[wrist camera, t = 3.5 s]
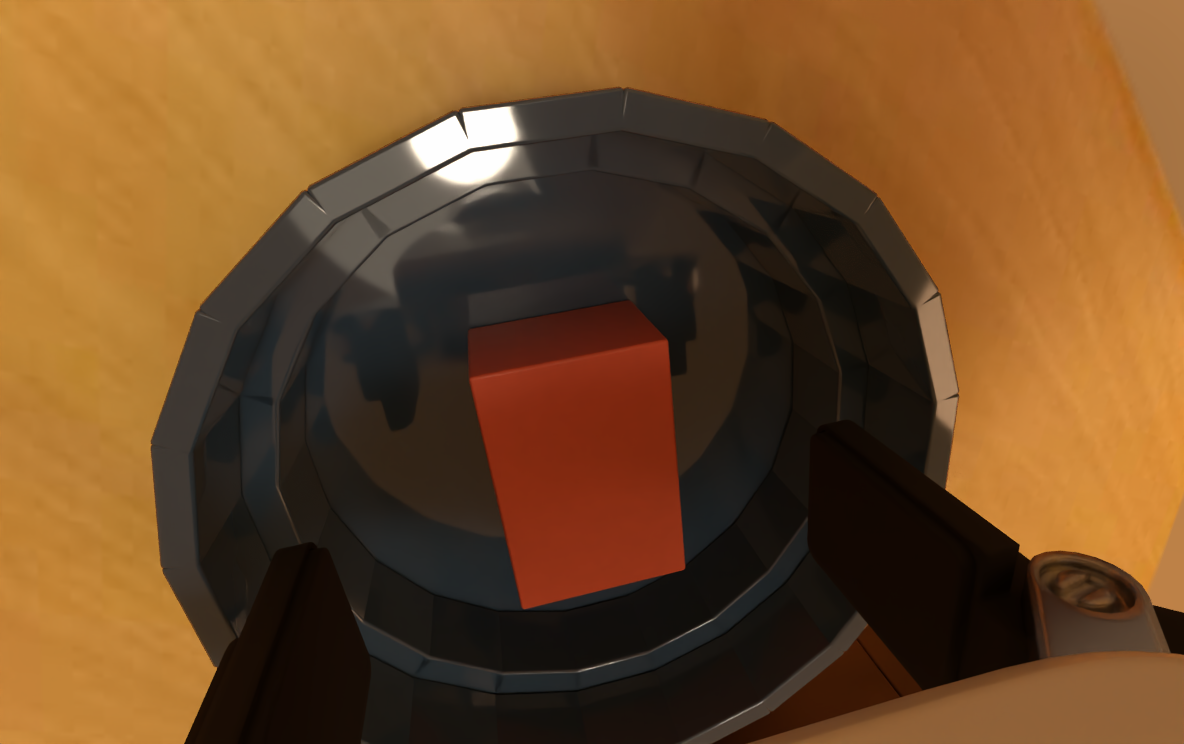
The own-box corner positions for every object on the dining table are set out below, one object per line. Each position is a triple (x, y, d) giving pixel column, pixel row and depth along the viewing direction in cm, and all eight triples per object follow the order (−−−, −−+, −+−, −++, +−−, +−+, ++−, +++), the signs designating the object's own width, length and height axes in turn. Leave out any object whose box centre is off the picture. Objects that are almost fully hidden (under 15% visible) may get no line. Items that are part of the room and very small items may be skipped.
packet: (630, 298, 15) (668, 339, 12) (650, 499, 17) (686, 570, 14) (466, 328, 14) (467, 377, 11) (512, 530, 16) (522, 611, 14)
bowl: (835, 62, 14) (1014, 34, 9) (815, 563, 20) (917, 691, 16) (140, 156, 12) (-58, 176, 7) (356, 679, 18) (320, 865, 14)
